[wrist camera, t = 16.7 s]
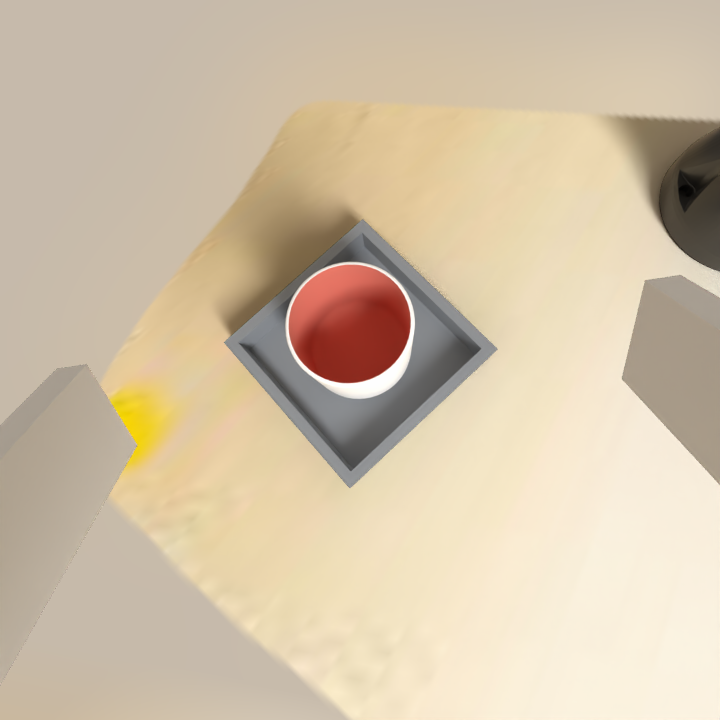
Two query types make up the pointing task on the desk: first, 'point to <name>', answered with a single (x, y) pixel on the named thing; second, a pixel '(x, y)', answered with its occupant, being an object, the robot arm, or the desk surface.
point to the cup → (351, 329)
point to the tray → (379, 413)
